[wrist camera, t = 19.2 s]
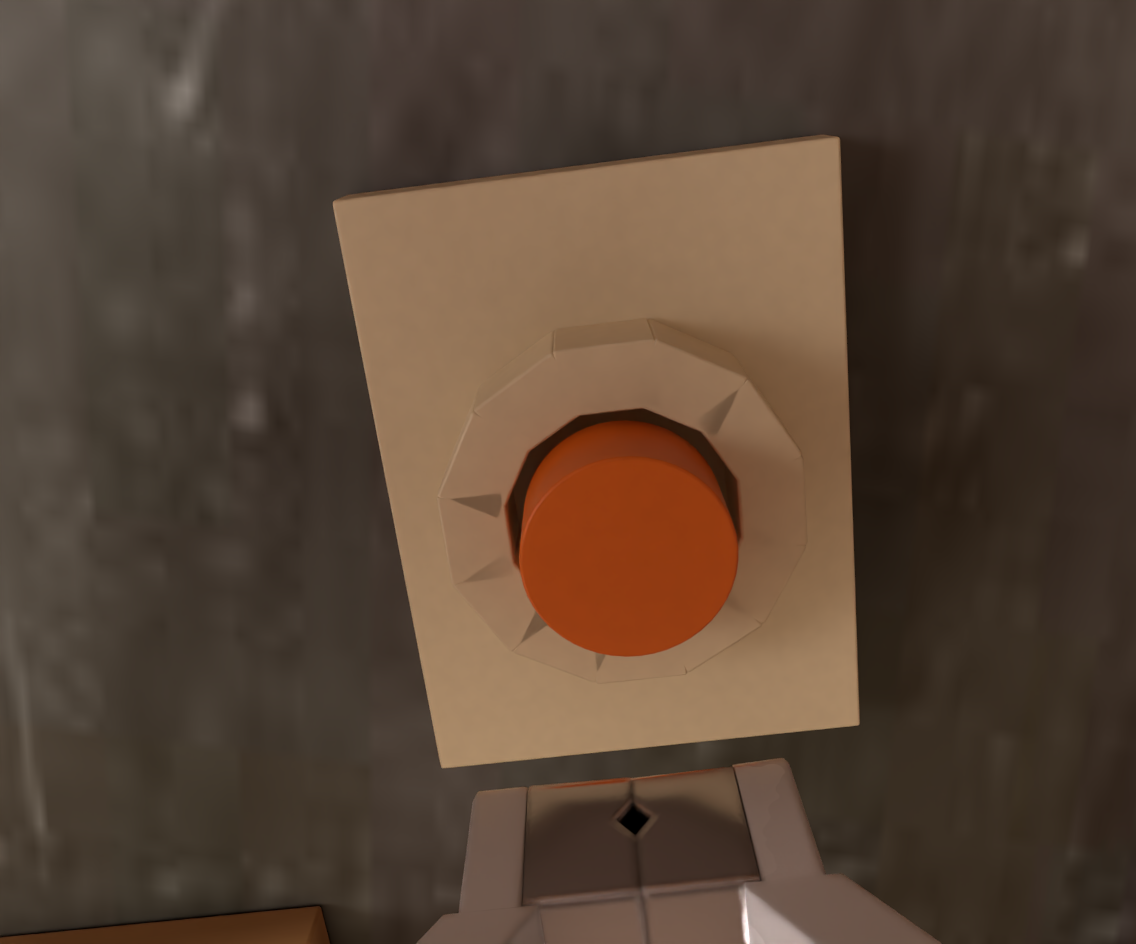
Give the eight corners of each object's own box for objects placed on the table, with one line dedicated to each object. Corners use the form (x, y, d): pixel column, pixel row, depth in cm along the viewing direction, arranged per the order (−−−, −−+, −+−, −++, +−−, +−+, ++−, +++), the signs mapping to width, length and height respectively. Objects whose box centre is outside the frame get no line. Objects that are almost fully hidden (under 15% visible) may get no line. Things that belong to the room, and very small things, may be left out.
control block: (345, 194, 20) (307, 211, 17) (825, 133, 19) (869, 140, 16) (447, 737, 24) (430, 824, 21) (846, 695, 23) (885, 778, 20)
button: (510, 431, 19) (504, 470, 17) (714, 408, 18) (731, 444, 16) (537, 612, 20) (534, 668, 18) (728, 592, 20) (746, 646, 18)
